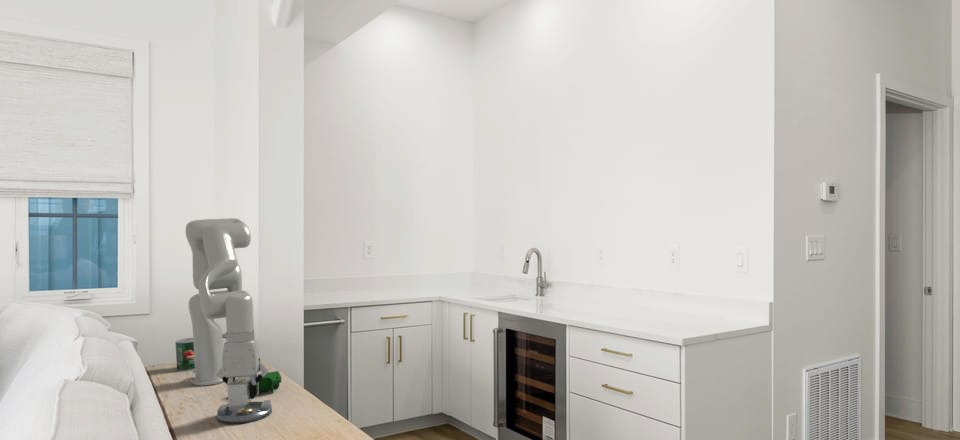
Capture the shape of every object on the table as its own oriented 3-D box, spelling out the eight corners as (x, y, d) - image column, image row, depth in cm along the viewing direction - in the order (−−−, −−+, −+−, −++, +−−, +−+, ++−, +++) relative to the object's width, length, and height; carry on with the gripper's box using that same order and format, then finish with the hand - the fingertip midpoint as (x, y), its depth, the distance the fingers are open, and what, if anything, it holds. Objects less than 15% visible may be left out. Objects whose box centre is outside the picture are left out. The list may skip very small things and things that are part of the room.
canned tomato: (193, 370, 234) (191, 342, 234) (172, 371, 234) (171, 343, 234) (203, 365, 242) (201, 337, 242) (183, 366, 242) (181, 338, 242)
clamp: (253, 409, 199) (241, 388, 195) (249, 400, 204) (238, 379, 200) (287, 389, 204) (277, 368, 200) (283, 381, 209) (272, 360, 205)
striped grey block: (228, 405, 176) (227, 384, 175) (242, 394, 186) (241, 374, 185) (245, 405, 176) (244, 384, 175) (258, 394, 186) (257, 374, 185)
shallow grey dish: (211, 426, 172) (211, 416, 172) (224, 409, 187) (223, 399, 187) (267, 421, 174) (266, 410, 174) (275, 404, 189) (274, 394, 189)
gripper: (206, 341, 176) (209, 403, 176) (266, 338, 177) (269, 400, 177) (216, 335, 183) (219, 395, 184) (273, 332, 184) (276, 392, 185)
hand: (243, 397), depth 181 cm, fingers closed on striped grey block, 5 cm apart
